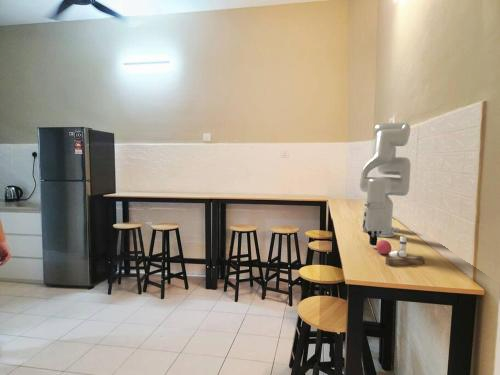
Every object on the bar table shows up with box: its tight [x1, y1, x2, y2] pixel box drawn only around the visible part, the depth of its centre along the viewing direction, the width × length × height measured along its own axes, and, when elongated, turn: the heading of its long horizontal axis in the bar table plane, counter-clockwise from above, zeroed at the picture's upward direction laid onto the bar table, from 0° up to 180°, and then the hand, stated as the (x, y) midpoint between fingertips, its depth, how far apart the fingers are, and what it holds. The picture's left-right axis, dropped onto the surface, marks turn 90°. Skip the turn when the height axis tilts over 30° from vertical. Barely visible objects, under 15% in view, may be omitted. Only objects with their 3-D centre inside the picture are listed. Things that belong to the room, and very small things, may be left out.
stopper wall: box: [385, 255, 426, 267], centre depth 124 cm, size 16×2×2 cm, turn 101°
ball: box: [376, 240, 392, 255], centre depth 136 cm, size 6×6×6 cm
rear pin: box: [398, 235, 408, 252], centre depth 131 cm, size 3×3×9 cm
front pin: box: [388, 250, 408, 258], centre depth 128 cm, size 3×3×9 cm
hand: (373, 244), depth 146 cm, fingers closed
